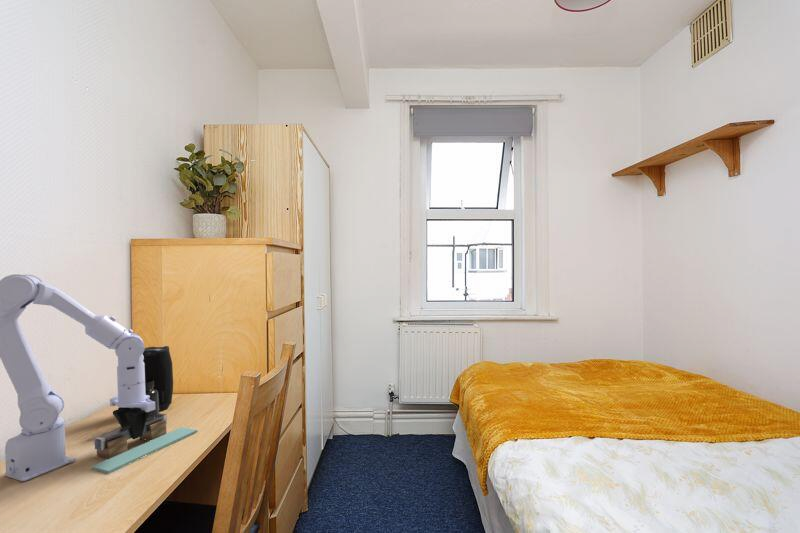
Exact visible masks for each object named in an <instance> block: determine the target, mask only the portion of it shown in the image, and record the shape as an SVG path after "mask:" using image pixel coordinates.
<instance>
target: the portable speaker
mask: <svg viewBox="0 0 800 533" xmlns="http://www.w3.org/2000/svg"><path fill="white" fill-rule="evenodd" d="M143 356H144V360H143V362H144V365H145V380H154V387H153V388H155V389H157V391H158V397H159V411H160V412H163V411H166V410H168V409H169V406H170V405H171V404H172V403H173V402H172V400H173V393H174V376H173V375H174V374H173V373H174V372H173V371H174V370H173V361H172V356H171V352H170V347H169V345H164V346H146V347H145V349H144V352H143Z"/></svg>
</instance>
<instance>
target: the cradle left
mask: <svg viewBox="0 0 800 533" xmlns="http://www.w3.org/2000/svg"><path fill="white" fill-rule="evenodd" d="M126 451H128V440H127V436H126V435H125V436H122V437H120V438H117V439H115V440H112V441H110V442H107V449H104V450H102V451H101V450H97V449H96V457H97V458H100V459H103V460H108V459H110V458H112V457H114V456H117V455H119V454H121V453H124V452H126Z"/></svg>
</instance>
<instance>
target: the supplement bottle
mask: <svg viewBox="0 0 800 533" xmlns="http://www.w3.org/2000/svg"><path fill="white" fill-rule="evenodd" d="M153 387H154V380H145V393H146V395H149V396H150V398H149V399H150V400H151V401H154V402H155V410H152V411H151V412H150V414H149V416H148V418H149V417H152V416H155V415H157V414H160V412H159V397H158V391H157V389H155V388H153Z"/></svg>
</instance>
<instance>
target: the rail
mask: <svg viewBox="0 0 800 533" xmlns="http://www.w3.org/2000/svg"><path fill="white" fill-rule="evenodd" d="M167 417H168V416H167V414H165V413H160V412H159V414H157V415H155V416H152V417H149V418H147V420H146V423H145V427H144V431H143V433H145V432H148V431H149V426H150V425H152V424H155V423H157V422H160V421H162V420H166V425H167V424H168V423H167V422H168V421H167V419H168V418H167ZM125 435H126V436H127V441H129V440H131V439H132V436H131V431H130V425H128V426H126V427H123V428H121V427H120V428H118V429H115V430H113V431H110V432H108V433H105V434H102V435H100V436H97V437H95V438H94V450H96V451H97V450H101V451H102V450H104V449H107V442H110V441H112V440H115V439H117V438H120V437H122V436H125Z"/></svg>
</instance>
